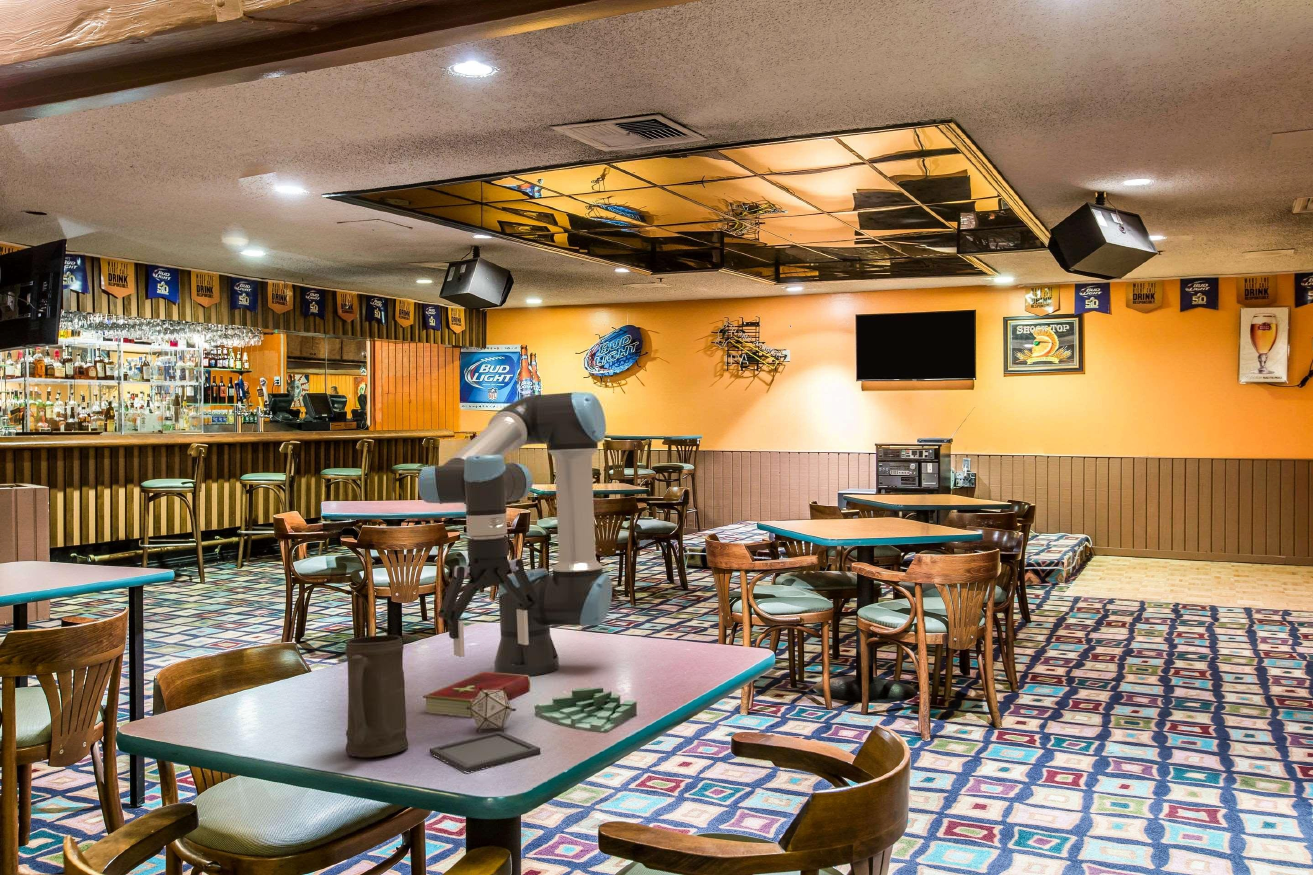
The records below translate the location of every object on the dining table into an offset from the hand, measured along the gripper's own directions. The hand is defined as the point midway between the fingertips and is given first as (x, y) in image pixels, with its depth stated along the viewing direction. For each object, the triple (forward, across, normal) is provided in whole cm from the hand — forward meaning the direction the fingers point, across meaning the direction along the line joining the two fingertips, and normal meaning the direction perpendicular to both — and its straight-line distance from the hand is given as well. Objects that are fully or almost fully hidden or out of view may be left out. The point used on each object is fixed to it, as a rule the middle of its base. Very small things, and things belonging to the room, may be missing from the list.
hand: (492, 649), depth 187 cm
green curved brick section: (+16, +17, -5) cm, 23 cm away
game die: (+15, 0, 0) cm, 15 cm away
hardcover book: (+16, +8, +20) cm, 27 cm away
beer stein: (+15, -22, +3) cm, 27 cm away
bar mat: (+15, -9, -12) cm, 21 cm away
